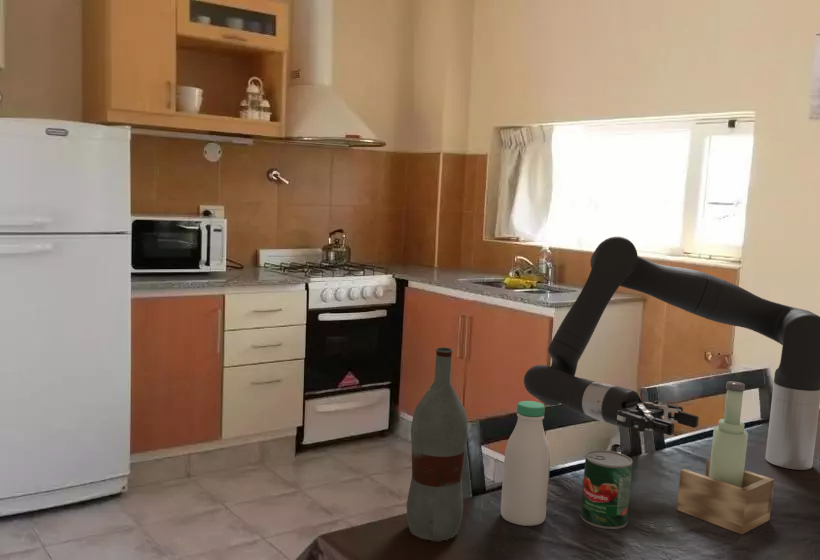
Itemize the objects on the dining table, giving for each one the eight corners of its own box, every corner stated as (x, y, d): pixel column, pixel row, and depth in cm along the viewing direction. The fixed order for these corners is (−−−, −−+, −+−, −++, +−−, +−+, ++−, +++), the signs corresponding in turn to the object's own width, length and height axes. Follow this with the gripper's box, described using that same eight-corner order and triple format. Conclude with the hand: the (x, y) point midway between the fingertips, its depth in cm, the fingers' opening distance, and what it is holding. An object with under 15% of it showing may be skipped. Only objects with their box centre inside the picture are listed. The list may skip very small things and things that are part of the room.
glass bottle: (702, 499, 143) (714, 378, 140) (733, 501, 142) (746, 380, 139) (711, 511, 137) (724, 386, 134) (744, 514, 137) (758, 388, 134)
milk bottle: (544, 530, 130) (554, 412, 127) (498, 523, 131) (506, 407, 129) (546, 511, 137) (555, 400, 135) (502, 505, 139) (509, 395, 136)
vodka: (417, 514, 133) (427, 340, 130) (468, 525, 130) (480, 347, 126) (396, 535, 125) (406, 350, 121) (451, 548, 121) (462, 358, 118)
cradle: (676, 510, 141) (680, 470, 140) (706, 497, 148) (710, 459, 147) (741, 534, 132) (746, 492, 131) (769, 520, 139) (774, 479, 138)
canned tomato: (628, 514, 138) (634, 454, 136) (625, 532, 130) (631, 469, 129) (583, 506, 140) (588, 447, 139) (577, 523, 133) (582, 461, 131)
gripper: (591, 390, 151) (666, 411, 139) (633, 381, 161) (707, 400, 149) (587, 428, 152) (662, 452, 140) (629, 416, 162) (703, 439, 150)
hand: (685, 425), depth 144 cm, fingers open, 8 cm apart
